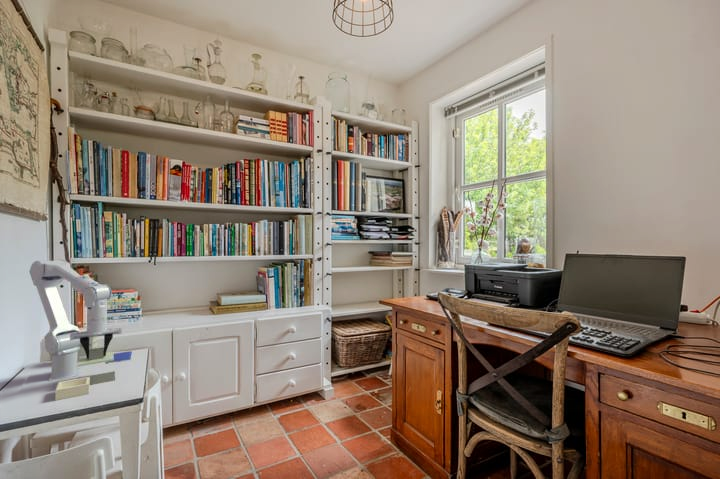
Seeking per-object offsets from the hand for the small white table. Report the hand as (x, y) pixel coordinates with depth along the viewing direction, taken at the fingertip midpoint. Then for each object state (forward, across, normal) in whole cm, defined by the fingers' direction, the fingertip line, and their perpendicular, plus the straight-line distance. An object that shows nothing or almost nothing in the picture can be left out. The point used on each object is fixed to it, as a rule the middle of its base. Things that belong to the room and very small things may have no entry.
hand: (96, 356), depth 120 cm
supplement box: (+9, -4, +30) cm, 32 cm away
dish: (+8, -6, -10) cm, 14 cm away
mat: (+8, 0, 0) cm, 8 cm away
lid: (+1, 0, 0) cm, 1 cm away
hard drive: (+9, +7, +24) cm, 27 cm away
